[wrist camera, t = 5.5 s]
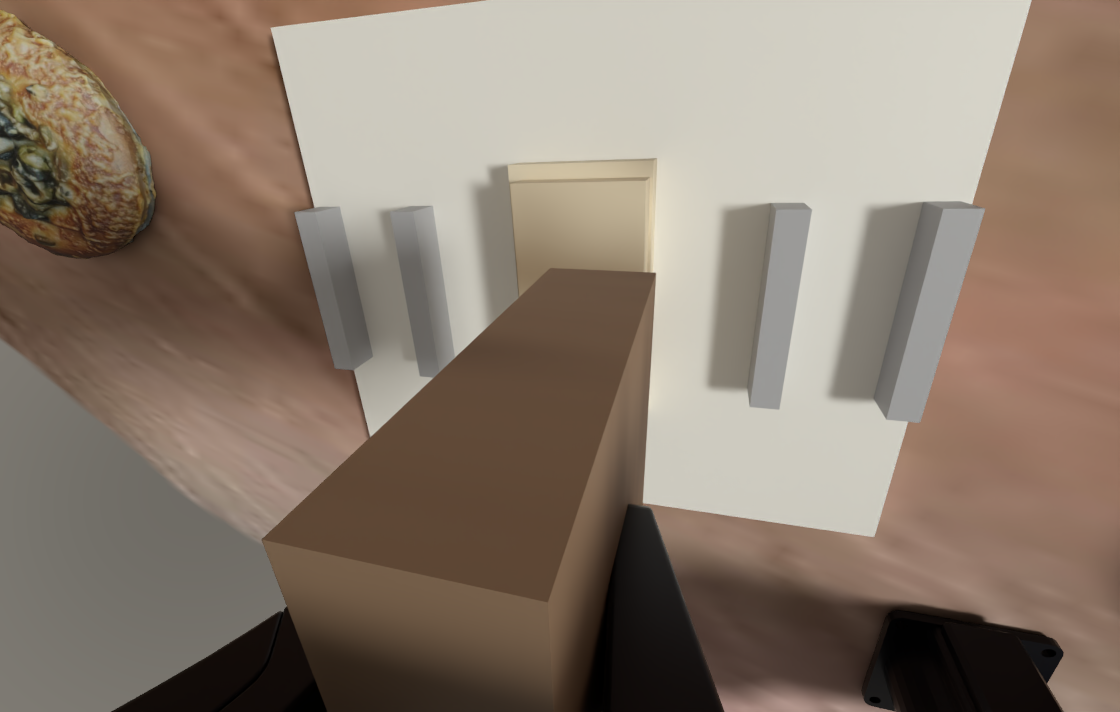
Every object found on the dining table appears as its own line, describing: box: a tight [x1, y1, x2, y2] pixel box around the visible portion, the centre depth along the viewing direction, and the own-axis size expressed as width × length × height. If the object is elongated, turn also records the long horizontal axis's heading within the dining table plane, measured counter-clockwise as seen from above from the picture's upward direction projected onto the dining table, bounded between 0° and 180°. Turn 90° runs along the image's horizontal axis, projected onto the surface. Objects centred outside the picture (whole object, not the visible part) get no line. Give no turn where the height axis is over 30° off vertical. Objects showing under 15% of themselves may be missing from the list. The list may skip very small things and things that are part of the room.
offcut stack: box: [508, 158, 657, 297], centre depth 18 cm, size 10×5×2 cm, turn 2°
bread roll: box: [0, 10, 156, 259], centre depth 23 cm, size 11×11×5 cm
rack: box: [271, 0, 1032, 537], centre depth 19 cm, size 20×24×2 cm
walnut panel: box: [262, 268, 656, 712], centre depth 7 cm, size 6×2×7 cm, turn 1°
